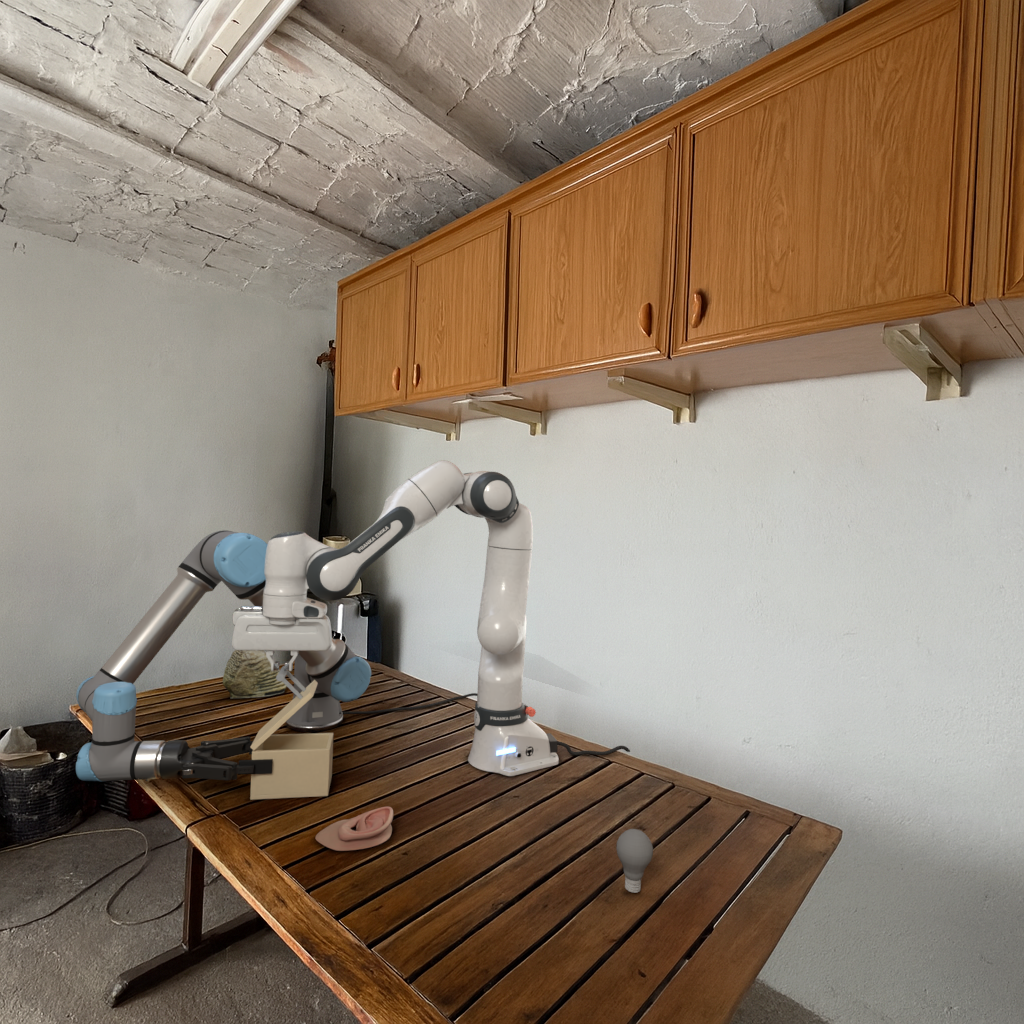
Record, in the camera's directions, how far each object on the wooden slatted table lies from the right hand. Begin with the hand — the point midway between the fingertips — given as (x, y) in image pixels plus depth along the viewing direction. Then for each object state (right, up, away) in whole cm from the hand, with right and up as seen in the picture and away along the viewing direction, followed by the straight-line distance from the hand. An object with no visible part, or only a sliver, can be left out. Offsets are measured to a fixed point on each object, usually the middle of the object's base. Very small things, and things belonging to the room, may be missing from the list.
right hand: (281, 670), depth 136 cm
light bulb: (+70, -29, -31) cm, 82 cm away
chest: (+2, -26, +1) cm, 26 cm away
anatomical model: (+20, -27, -17) cm, 38 cm away
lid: (+1, -10, 0) cm, 10 cm away
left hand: (-1, -19, 0) cm, 19 cm away
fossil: (-31, -23, +62) cm, 73 cm away
